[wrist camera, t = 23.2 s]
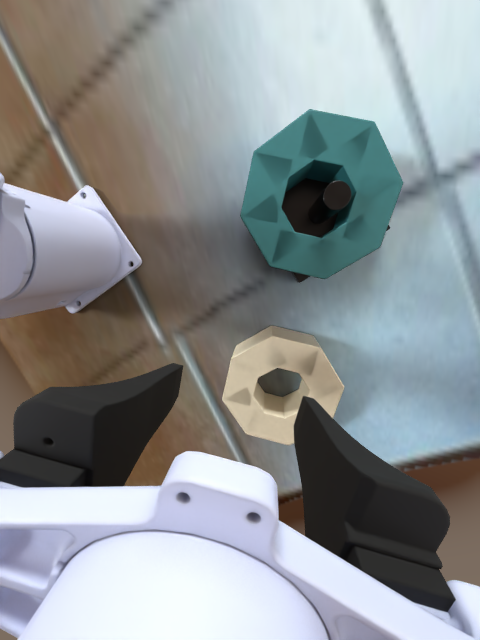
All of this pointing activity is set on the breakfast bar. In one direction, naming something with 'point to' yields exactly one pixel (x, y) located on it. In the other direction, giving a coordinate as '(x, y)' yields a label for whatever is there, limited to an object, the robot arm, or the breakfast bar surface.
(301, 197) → the peg stand
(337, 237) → the teal ring
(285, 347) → the cream ring
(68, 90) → the breakfast bar surface
